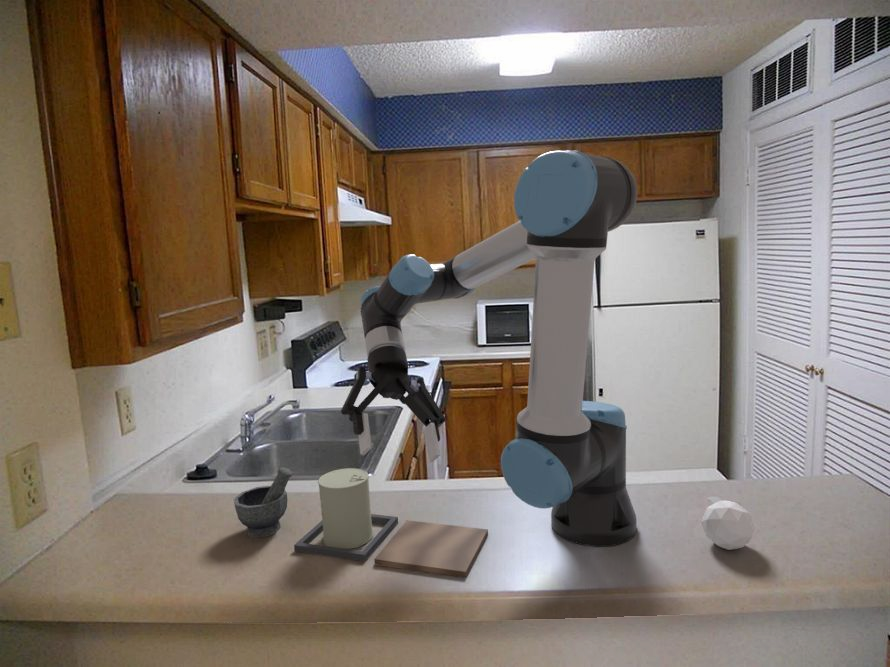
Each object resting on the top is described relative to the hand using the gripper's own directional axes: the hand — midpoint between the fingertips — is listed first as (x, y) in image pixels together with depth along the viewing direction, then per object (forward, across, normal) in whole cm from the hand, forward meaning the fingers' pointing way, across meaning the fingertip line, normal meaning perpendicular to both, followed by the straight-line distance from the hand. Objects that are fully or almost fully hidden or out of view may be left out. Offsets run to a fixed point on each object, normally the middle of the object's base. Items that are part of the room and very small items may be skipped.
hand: (401, 455), depth 97 cm
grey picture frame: (+6, +1, -20) cm, 21 cm away
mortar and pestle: (+1, +12, -32) cm, 34 cm away
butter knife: (+20, -56, +21) cm, 63 cm away
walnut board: (+13, -9, -8) cm, 18 cm away
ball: (+23, -47, +21) cm, 57 cm away
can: (+7, +1, -20) cm, 21 cm away
